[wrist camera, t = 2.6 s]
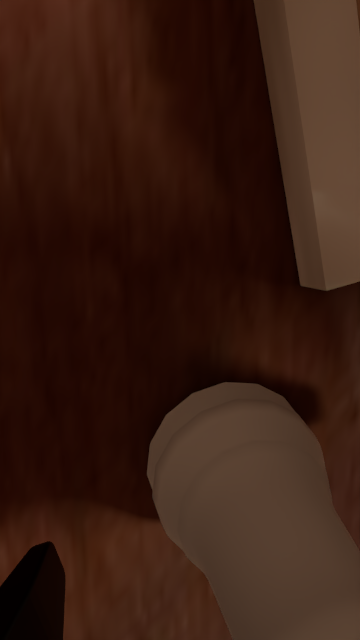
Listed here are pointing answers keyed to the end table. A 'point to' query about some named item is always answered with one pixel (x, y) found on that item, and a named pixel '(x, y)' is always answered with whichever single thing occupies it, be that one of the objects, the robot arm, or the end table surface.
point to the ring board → (317, 130)
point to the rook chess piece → (256, 514)
